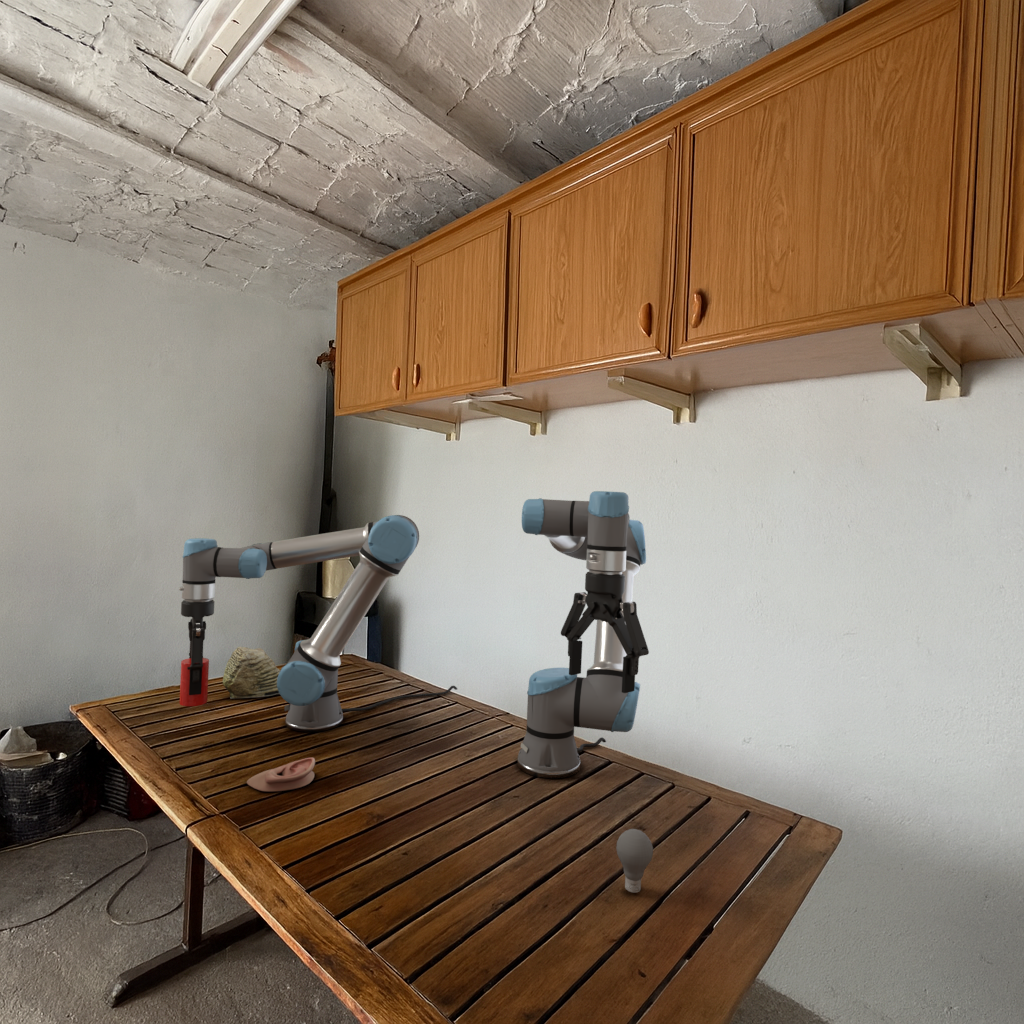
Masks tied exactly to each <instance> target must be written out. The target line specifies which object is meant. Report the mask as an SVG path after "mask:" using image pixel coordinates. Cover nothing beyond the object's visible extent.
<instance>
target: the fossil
mask: <svg viewBox="0 0 1024 1024" xmlns="http://www.w3.org/2000/svg"><path fill="white" fill-rule="evenodd" d="M280 670H281V669H279V668H278V667H277V665H276V663H275V662H274V660H273V659H272V658H271V657H270V656H269V655H268V654H267V653H266V652H265V650H264V649H263V648H260V647H258V648H251V647H247V646H246V647H245V646H238V647H237V648H236V649H235V650H233V651H232V653H231V656H230V657H229V659H228V660H227V663H226V666H225V668H224V671H223V675H222V676H223V677H222V685H223V687H224V688H225V690H226V691H228V693H229V698H230V699H250V698H264V697H271V696H275V695H280V694H279V691H278V688H277V678H278V675H279V672H280Z"/></svg>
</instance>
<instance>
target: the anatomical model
mask: <svg viewBox="0 0 1024 1024" xmlns="http://www.w3.org/2000/svg"><path fill="white" fill-rule="evenodd" d="M315 766H316V758H315V757H306V758H302V759H299V760H295V761H291V762H289V763H287V764H283V765H281V766H280V765H279V766H278V767H275V768H270V769H268V770H267V769H266V770H264V771H262V772H259V773H257V774H255V775H253V776H252V777H250V778H249V779H247V781H246V784H247V785H248V786H249V787H251V788H253V789H255V790H258V791H260V792H282V791H283V792H284V791H290V790H295V789H299V788H302V787H305V786H307V785H309V784H310V783H311V782H312V781H313V780H314V778H315V772H314V771H313V769H314V767H315Z"/></svg>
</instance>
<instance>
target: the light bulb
mask: <svg viewBox="0 0 1024 1024" xmlns="http://www.w3.org/2000/svg"><path fill="white" fill-rule="evenodd" d="M615 849H616V854H617V857H618V859H619V861H620V863H621V865H622V867H623V873H624V874H623V875H624V876H625V878H624V888H625V890H627V891H628V892H630V893H634V894H635V893H639V892H640V891H641V889H642V887H641V886H642V879H643V877H644V875H645V871H646V868H647V867H648V866H649V864H650V863H651V861H652V859H653V855H654V847H653V843H652V841H651V838H649V836H648V835H647V834H646V833H645V832H643V831H642V830H641V829H636V828H629V829H627V830H625V831H623V832H622V833H621V834H620V835H619V837H618V839H617V841H616V847H615Z"/></svg>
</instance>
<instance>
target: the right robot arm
mask: <svg viewBox="0 0 1024 1024" xmlns="http://www.w3.org/2000/svg"><path fill="white" fill-rule="evenodd" d="M629 510H630V506H629V494H627V492H623V491H607V490H605V491H604V490H603V491H602V490H595V491H592V492H591V493H590V494H589V500H564V499H547V498H540V497H539V498H528V499H526V500H525V501H524V503H523V504H522V509H521V528H522V531H523V532H524V534H529V535H535V536H544V537H545V538H547V539H548V540H549V543H550V545H551V546H552V547H553V549H554V550H556V551H557V552H559V553H561V554H563V555H565V556H568V557H571V558H574V559H577V560H581V561H586V562H585V568H586V569H587V570H588V571H587V572H586V573H585V579H584V590H585V591H583V592H581V591H580V592H574V595H573V601H572V602H573V603H572V605H571V607H570V609H569V612H568V614H567V616H566V619H565V621H564V623H563V625H562V628H561V630H560V635H561V636H562V637H565V638H566V640H567V641H568V642H567V656H568V657H569V660H568V661H569V663H568V667H549V668H542V669H539V670H537V671H535V672H533V673H532V674H531V675H530V677H529V678H528V679H529V680H528V687H527V693H526V694H527V708H526V730H525V735H524V737H523V740H522V742H521V743H520V749H519V751H518V753H517V766H518V768H519V769H520V770H521V771H523V772H524V773H526V774H527V775H530V776H533V777H536V778H543V779H565V778H569V777H572V776H574V775H576V774H578V773H579V771H580V769H581V758H580V754H579V753H580V752H582V751H583V750H584V748H596V747H597V746H599V745H600V744H601V743H607V740H606V739H605V738H604V737H599V738H598V739H597V740H596V741H595V742H592V743H581V744H580V745H579V747H578V746H577V743H576V739H575V728H581V729H590V730H599V731H607V732H611V733H614V732H615V733H616V732H619V733H628V732H630V731H631V730H633V728H634V725H635V719H636V713H637V708H638V703H639V696H640V690H641V684H640V683H639V682H637V681H636V675H638V674H639V665H640V664H639V663H640V658H641V657H642V656H648V655H649V653H650V651H649V647H648V644H647V641H646V637H645V635H644V632H643V628H642V626H641V623H640V620H639V617H638V616H639V615H638V610H637V609H638V608H637V602H636V601H633V599H634V598H633V595H634V579H635V578H634V577H635V575H637V574H638V573H639V572H640V570H641V566H642V565H643V566H644V565H645V564H646V563H647V551H646V538H645V537H646V536H645V529H644V525H643V523H642V522H641V521H640V520H638V519H630V514H629V512H630V511H629ZM586 606H587V607H586ZM585 608H586V609H585ZM594 621H596V627H595V641H594V651H593V652H594V653H593V663H592V665H591V666H589V668H587V669H586V677H582V676H581V677H580V676H578V675H581V674H582V657H583V640H582V636H583V635H584V633H585V632H586V631H587V630H588V628H589V627H590V626H591V625H592V624H593V622H594Z"/></svg>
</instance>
